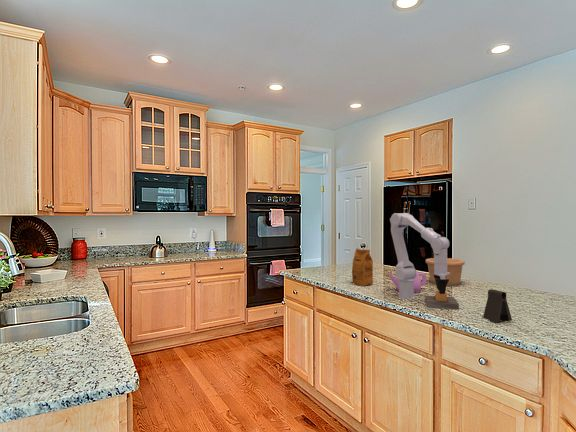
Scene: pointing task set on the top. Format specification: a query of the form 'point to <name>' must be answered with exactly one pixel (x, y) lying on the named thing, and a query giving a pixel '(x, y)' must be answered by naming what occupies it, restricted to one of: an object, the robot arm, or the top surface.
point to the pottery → (452, 266)
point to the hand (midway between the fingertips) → (441, 291)
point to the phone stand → (497, 307)
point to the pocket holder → (441, 303)
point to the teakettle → (416, 281)
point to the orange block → (440, 296)
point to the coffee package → (362, 268)
